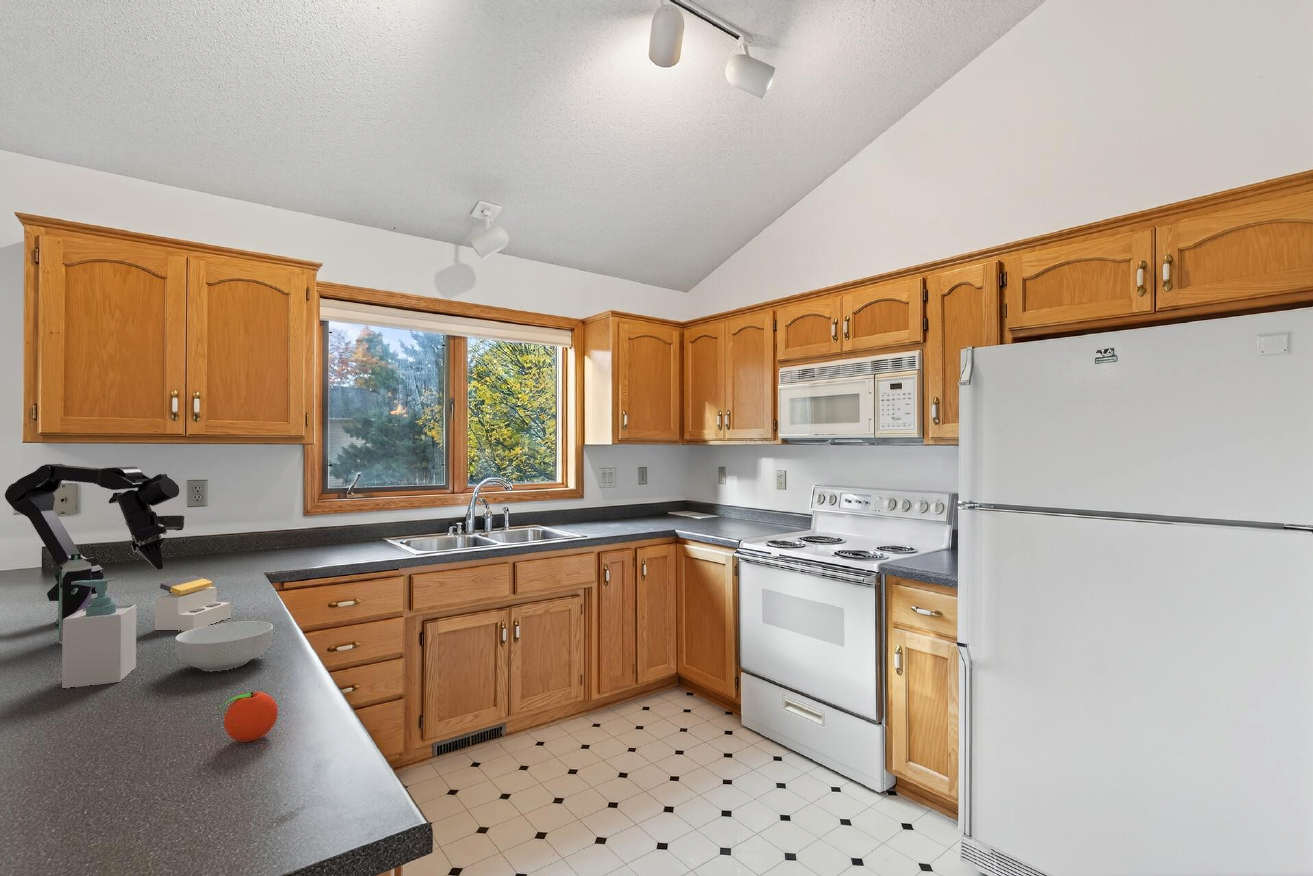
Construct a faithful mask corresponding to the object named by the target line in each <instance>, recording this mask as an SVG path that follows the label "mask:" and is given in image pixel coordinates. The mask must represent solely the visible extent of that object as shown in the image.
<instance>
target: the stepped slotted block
mask: <svg viewBox="0 0 1313 876" xmlns="http://www.w3.org/2000/svg"><path fill="white" fill-rule="evenodd" d="M217 589H218V588H217V586H211V587H208V588H204V589H201V590H197V591H193V592H190V593H186V594H183V595H177V594H175V593H171V594H170V593H168V594H167V593H166V594H163V595H159V596H156V597H155V598H154V599H155V600H154V601H155V603H154V604H155V605H154V607H155V609H154V615H155V616H154V631H155V630H178V631H177V632H185V631H188V630H192V629H195V628H199V627H204V626H208V625H210V624H213V625H215V624H214V623H216V622H218V623H220V622H219V621H221V620H224V621H226V620H225V619H227V618H230V619H231V618H232V602H226V601H225V602H222V601H218V602H217V599H218V598H217V596H218V595H217V593H218V592H217ZM227 620H228V619H227ZM221 622H222V621H221ZM216 624H217V623H216ZM180 630H181V631H180Z"/></svg>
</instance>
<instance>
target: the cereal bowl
mask: <svg viewBox="0 0 1313 876" xmlns="http://www.w3.org/2000/svg"><path fill="white" fill-rule="evenodd" d="M273 638H274V625H273V624H272V623H270V622H267V621H259V620H244V621H233V622H223V623H216V624H213V625H209V626H204V627H199V628H195V629H192V630H188V631H182V632H180V633H179V634H177V635H176V636H175V638H174V651H175V654H176V657H177V659H178V660H179V661H180V662H181V663H182V664H184V665H186V666H189V667H191V668H192V667H193V668H198V669H200V670H201V671H203V672H207V671H209V672H210V673H214V672H213V671H218V672H222V671H221V670H226V671H230V670H229V669H231V670H233V669H232V668H235V669H237V667H238V668H240V667H239V666H241V667H243V666H244V664H245V665H246V664H247V663H249V662H250V661H251V660H254V659H256V658H258V657H259V656H261V655H262V654H264V653H265V652H266V651H267V650H268V648H269V647H270V646H271V644H272V642H273ZM242 665H243V666H242ZM209 672H208V673H209Z"/></svg>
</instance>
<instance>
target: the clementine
mask: <svg viewBox="0 0 1313 876" xmlns="http://www.w3.org/2000/svg"><path fill="white" fill-rule="evenodd" d="M232 701H233V702H232ZM230 702H232V703H231V704H230V705H229V707H228V708H227V710H226V712H225V715H224V721H223V725H224V730H225V732H226V734H227V735H228V736H229V737H231V738H232V739H233V740H236V741H238V742H242V743H245V742H246V743H247V742H253V741H256V740H259V739H261V738H262V737H264V736H265V735H267V734H268V733H269V732H270V731H271V729H272V728H273V727H274V726H275V723H276V722H277V719H278V713H279V710H278V704H277V702H276V701H275V699H274V698H273V697H271V695H270V694H267V693H265V692H262V691H254V692H253V691H252V692H248V693H243V694H239V695H236V696H234V697H231V698H229V699H228V700H226V702H224V703H223V704H222V705H221V706H220V707H219V709H218V710H217V712H216V714H215V716H217V715H218V713H219V712H220V711H219V710H221V708H223V706H224V705H226V704H227V703H230Z"/></svg>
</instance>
